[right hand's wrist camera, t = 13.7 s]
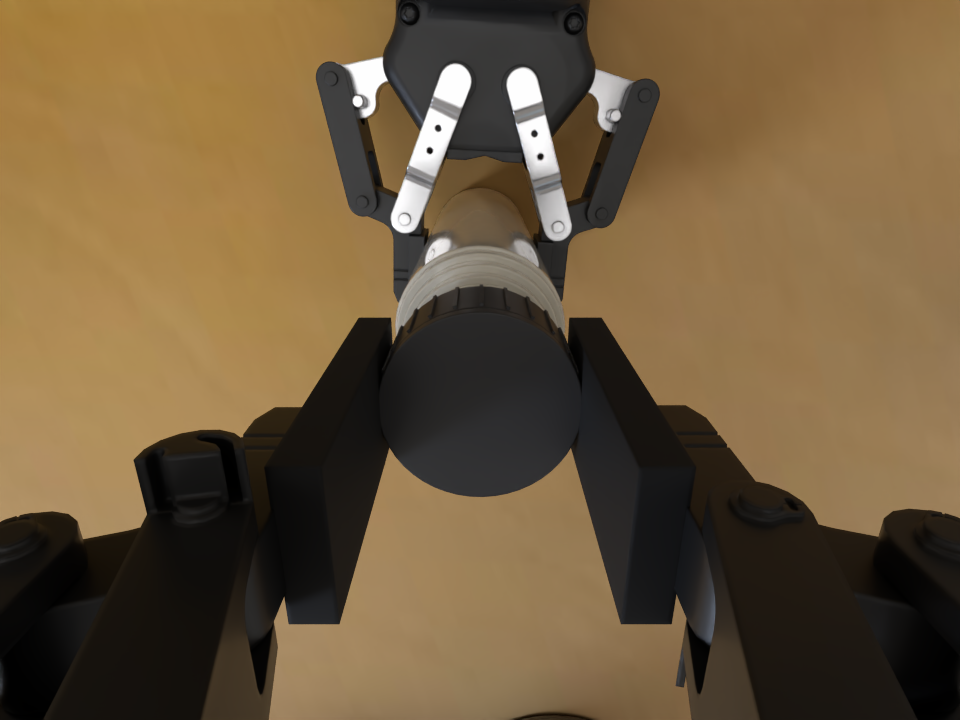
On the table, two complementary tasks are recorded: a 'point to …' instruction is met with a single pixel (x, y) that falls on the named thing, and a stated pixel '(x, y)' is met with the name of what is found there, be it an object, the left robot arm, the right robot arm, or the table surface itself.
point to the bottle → (480, 255)
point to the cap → (480, 393)
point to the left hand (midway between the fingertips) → (476, 312)
